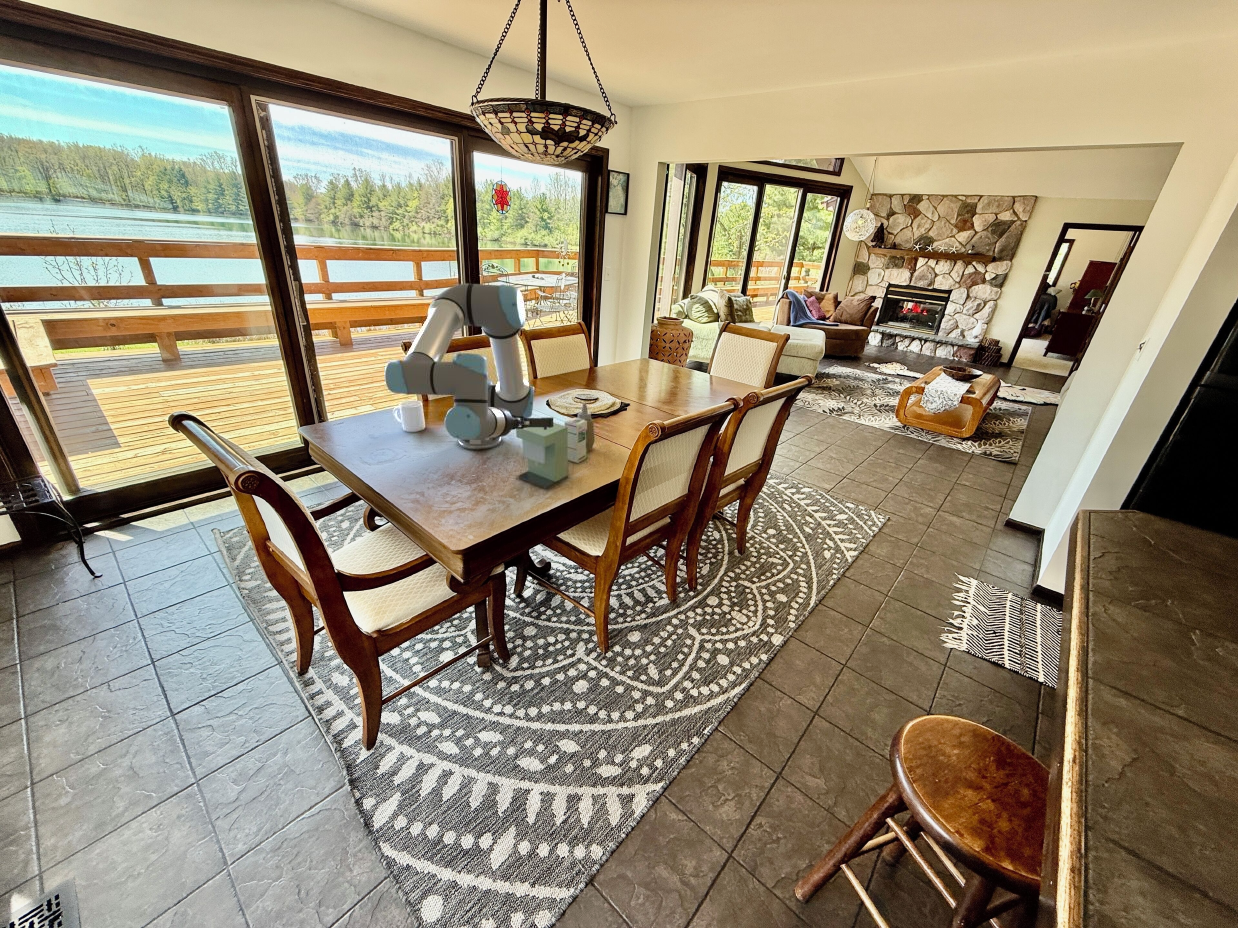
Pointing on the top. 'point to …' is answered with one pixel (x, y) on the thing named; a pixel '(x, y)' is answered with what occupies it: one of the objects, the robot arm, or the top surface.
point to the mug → (410, 416)
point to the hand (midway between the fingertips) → (530, 421)
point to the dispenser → (547, 455)
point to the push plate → (533, 451)
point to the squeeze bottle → (588, 426)
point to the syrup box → (577, 439)
